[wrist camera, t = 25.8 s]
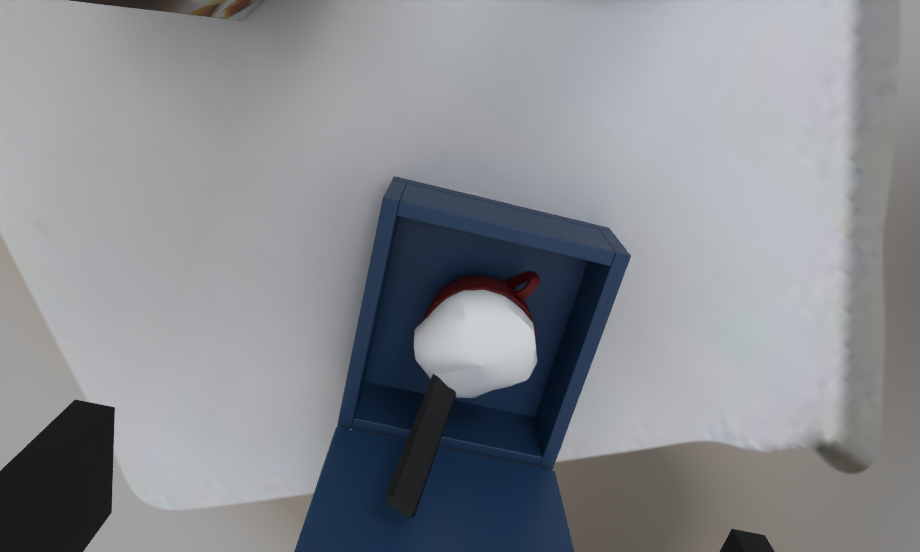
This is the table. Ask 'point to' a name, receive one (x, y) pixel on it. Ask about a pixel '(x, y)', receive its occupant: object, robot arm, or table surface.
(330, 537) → the lunchbox lid
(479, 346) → the cocoa
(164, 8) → the coffee box
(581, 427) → the table surface
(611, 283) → the box
